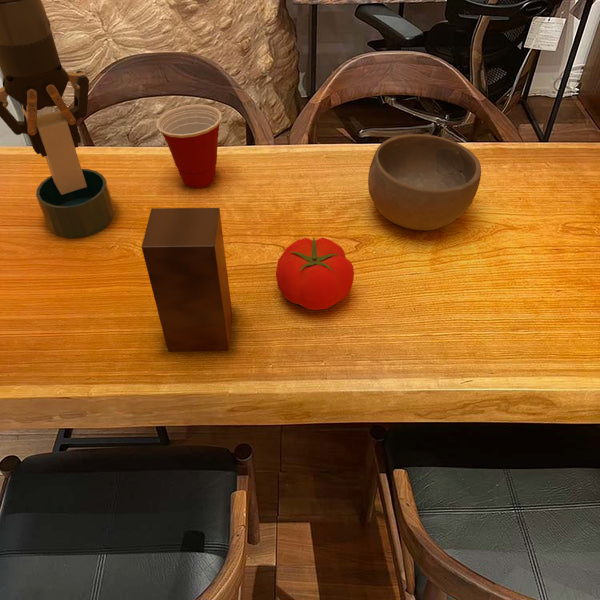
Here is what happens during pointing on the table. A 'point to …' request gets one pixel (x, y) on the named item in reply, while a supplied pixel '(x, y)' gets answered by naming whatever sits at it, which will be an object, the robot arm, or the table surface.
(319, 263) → the tomato
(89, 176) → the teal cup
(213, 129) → the plastic cup
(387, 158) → the bowl
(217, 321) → the pedestal
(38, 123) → the block
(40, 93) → the robot arm
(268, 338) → the table surface
